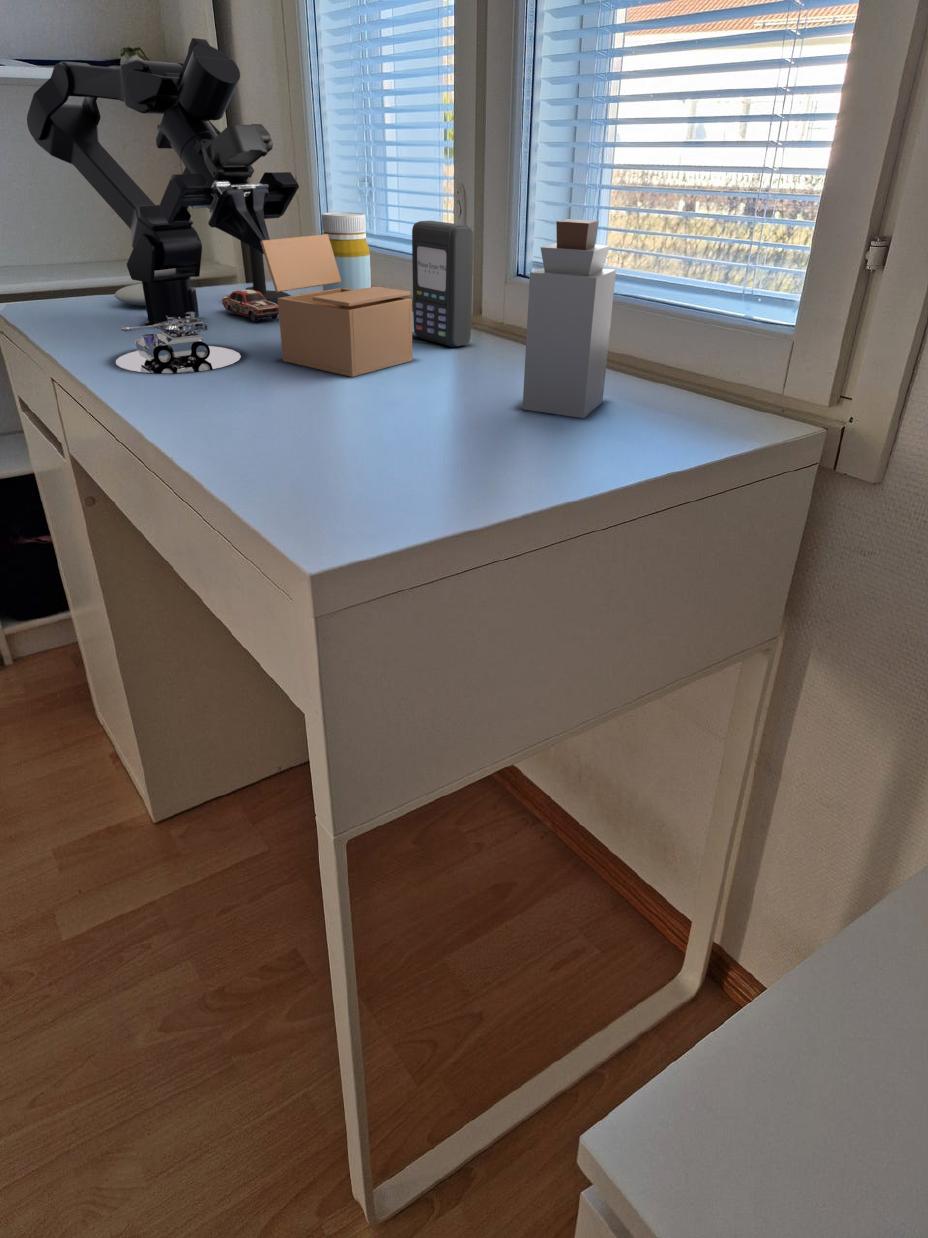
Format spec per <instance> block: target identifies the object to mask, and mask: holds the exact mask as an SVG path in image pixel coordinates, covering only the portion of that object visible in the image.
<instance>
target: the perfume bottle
mask: <svg viewBox="0 0 928 1238" xmlns="http://www.w3.org/2000/svg"><path fill="white" fill-rule="evenodd" d="M555 222H556V223H555V224H556V225H555V226H556V242H554V243H551V244H546V245H543V246H540V247H539V248H540V253H541V258H542V264H543V267H541V268H539V269H536V270H533V271H530V272H529V281H528V282H529V284H528V302H527V319H526V320H527V321H526V338H525V339H526V340H525V354H524V355H525V356H524V375H523V377H524V378H523V390H522V391H523V392H522V410H524V411H525V410H526V411H530V412H531V411H532V412H537V413H538V412H539V413H544V414H545V413H546V414H551V415H552V414H553V415H559V416H565V417H572V418H579V419H585V418H586V417H587V416H588V415H589V414H590V413H592V412H593V411H594V410H595V409H597V408H598V407H599V406H601V404H602V403H603V401H604V391H605V382H606V372H607V371H606V370H607V361H608V352H609V342H610V332H611V323H612V316H613V315H612V314H613V304H614V303H613V302H614V294H615V284H616V275H617V269H614V268H613V269H612V268H604V266H605V263H606V260H607V256H608V254H609V251H610V248H611V245H608V244H607V245H606V244H596V241H597V235H598V234H597V233H598V228H599V222H600V221H599V220H593V219H592V220H590V219H576V218H575V219H574V218H565V219H561V220H557V221H555Z"/></svg>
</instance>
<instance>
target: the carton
mask: <svg viewBox="0 0 928 1238" xmlns="http://www.w3.org/2000/svg"><path fill="white" fill-rule="evenodd" d="M407 296H412V292H411V291H409V290H403V289H395V288H388V287H381V286H371V287H369V288H363V289H357V290H353V289H346V288H337V289H331V290H324V291H323V290H318V291H313V292H307V293H301V294H293V295H291V296H287V297H281V298H278V310H279V314H278V320H279V331H280V343H281V353H282V355H281V356H282V362H285V363H289V364H295V365H298V366H302V367H307V368H311V369H316V370H321V371H325V372H329V373H334V374H337V375H343V376H346V377H350V378H354V377H357V376H361V375H365V374H368V373H373V372H376V371H379V370H384V369H386V368H390V367H394V366H398V365H402V364H405V363H409V362H413V298H410V297H407Z"/></svg>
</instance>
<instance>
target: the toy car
mask: <svg viewBox="0 0 928 1238" xmlns="http://www.w3.org/2000/svg"><path fill="white" fill-rule="evenodd" d="M187 313H188V314H189V316H187V317H186V318H182V319H180V317H178V318H175V317H168V316H166V317H167V321H164V322H159V324H154V325H148V326H146V325H140V326H131V327H121V328H120V331H121V332H122V333H127V332H133V331H143V330H160V331H161V332H159V333H157V334H155V333H148V334H146V333H145V334H142V337H139V338H136V339H134V342H135V347H136V350H135V351H131V352H127V353H125V354H123V355H120V356H119V357H118V358H116V360H115V365H116V366H118V367H119V368H121V369H124V370H127V371H132V372H139V373H150V374H181V373H182V374H183V373H195V372H196V373H197V372H203V371H210V370H215V369H220V368H224V367H227V366H230V365H233V364H234V363H236V362H238V361H240V359H241V357H242V356H241V354H240V352H238V351H235V350H234V349H231V348H226V347H220V346H213V345H208V343H206V342H204V340H205V339H203V338H204V335H202V334H200V333H201V332H205V331H208V325H207V321H205V320H204V319H201V318H199V317H198V318H196V317H194V314H195V312H194V311H193V312H187ZM205 314H206V311H205V312H204V314H203V315H205Z"/></svg>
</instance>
